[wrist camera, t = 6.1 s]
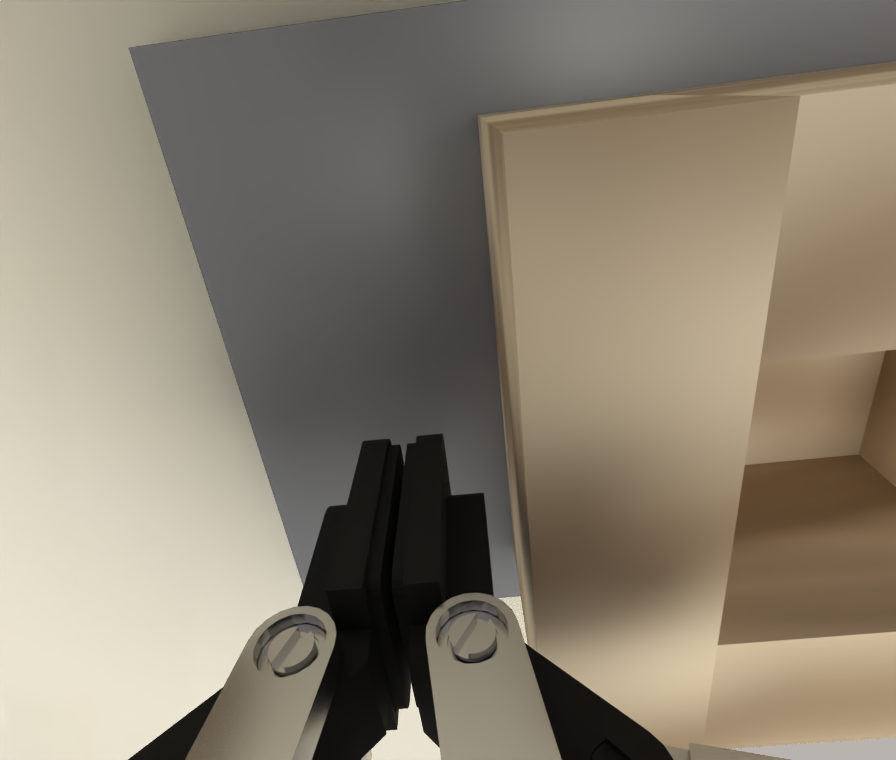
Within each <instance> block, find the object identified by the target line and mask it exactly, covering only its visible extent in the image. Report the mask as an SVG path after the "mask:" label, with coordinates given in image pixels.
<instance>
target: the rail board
mask: <svg viewBox="0 0 896 760" xmlns="http://www.w3.org/2000/svg"><path fill="white" fill-rule="evenodd" d="M129 50H130V53H131V57H132V60H133V63H134V66H135V69H136V72H137V75H138V78H139V81H140V84H141V87H142V90H143V94H144V97H145V100H146V103H147V106H148V109H149V112H150V115H151V118H152V121H153V124H154V127H155V131H156V134H157V137H158V140H159V143H160V146H161V149H162V152H163V155H164V158H165V161H166V164H167V168H168V171H169V174H170V177H171V180H172V183H173V186H174V189H175V192H176V195H177V198H178V201H179V204H180V208H181V211H182V214H183V217H184V220H185V223H186V226H187V229H188V232H189V235H190V238H191V241H192V245H193V248H194V251H195V254H196V257H197V260H198V263H199V266H200V269H201V272H202V275H203V278H204V282H205V285H206V288H207V291H208V294H209V297H210V300H211V303H212V306H213V309H214V312H215V315H216V319H217V322H218V325H219V328H220V331H221V334H222V337H223V340H224V343H225V346H226V349H227V352H228V356H229V359H230V362H231V365H232V368H233V371H234V374H235V377H236V380H237V383H238V386H239V389H240V392H241V396H242V399H243V402H244V405H245V408H246V411H247V414H248V417H249V420H250V423H251V426H252V429H253V433H254V436H255V439H256V442H257V445H258V448H259V451H260V454H261V457H262V460H263V463H264V466H265V470H266V473H267V476H268V479H269V482H270V485H271V488H272V491H273V494H274V497H275V500H276V503H277V507H278V510H279V513H280V516H281V519H282V522H283V525H284V528H285V531H286V534H287V537H288V540H289V544H290V547H291V550H292V553H293V556H294V559H295V562H296V565H297V568H298V571H299V574H300V577H301V580H302V584H303V586H304V583H305V580H306V576H307V573H308V569H309V566H310V563H311V559H312V556H313V552H314V549H315V546H316V542H317V539H318V535H319V532H320V529H321V525H322V522H323V518H324V515H325V512H326V510H327V508H328V507H329V506H336V505H347V502H348V498H349V494H350V490H351V486H352V482H353V478H354V474H355V470H356V466H357V462H358V458H359V454H360V449H361V445H362V442H363V441H367V440H378V439H388V438H389V439H390V441H391V444H392V445H398V444H400V446H401V449H402V455H403V460H404V465H405V456H406V448H407V444H408V443H416V437H417V436H421V435H431V434H443V437H444V444H445V451H446V459H447V466H448V473H449V481H450V488H451V495H462V494H473V493H484V498H485V508H486V518H487V528H488V538H489V548H490V559H491V570H492V581H493V592H494V597H496V598H504V597H516V596H521V594H520V587H519V580H518V573H517V566H516V559H515V553H514V542H513V530H512V518H511V506H510V495H509V483H508V471H507V459H506V447H505V435H504V423H503V412H502V400H501V388H500V376H499V364H498V352H497V340H496V329H495V317H494V305H493V293H492V281H491V269H490V257H489V246H488V234H487V222H486V210H485V198H484V186H483V174H482V163H481V151H480V139H479V127H478V115H484V114H492V113H500V112H507V111H515V110H523V109H531V108H538V107H546V106H554V105H562V104H569V103H577V102H585V101H593V100H600V99H608V98H616V97H624V96H631V95H639V94H647V93H655V92H662V91H670V90H678V89H685V88H693V87H701V86H709V85H716V84H724V83H732V82H740V81H747V80H755V79H763V78H771V77H778V76H786V75H794V74H802V73H809V72H817V71H825V70H833V69H840V68H848V67H856V66H863V65H871V64H879V63H887V62H894V61H896V0H464V1H457V2H450V3H443V4H436V5H429V6H422V7H415V8H407V9H400V10H393V11H386V12H379V13H372V14H365V15H358V16H350V17H343V18H336V19H329V20H322V21H315V22H308V23H301V24H293V25H286V26H279V27H272V28H265V29H258V30H251V31H244V32H236V33H229V34H222V35H215V36H208V37H201V38H194V39H187V40H179V41H172V42H165V43H158V44H151V45H144V46H137V47H130V48H129Z"/></svg>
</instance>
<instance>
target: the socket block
mask: <svg viewBox="0 0 896 760" xmlns="http://www.w3.org/2000/svg"><path fill="white" fill-rule="evenodd" d="M478 127H479V139H480V151H481V163H482V174H483V186H484V198H485V210H486V222H487V234H488V246H489V257H490V269H491V281H492V293H493V305H494V317H495V329H496V340H497V352H498V364H499V376H500V388H501V400H502V412H503V423H504V435H505V447H506V459H507V471H508V483H509V495H510V506H511V518H512V530H513V542H514V553H515V559H516V566H517V573H518V580H519V587H520V594H521V601H522V608H523V615H524V622H525V629H526V635H527V642H528V646H530V647H531V648H533V649H534V650H535V651H537V652H538V653H540V654H541V655H542V656H544V657H545V658H547V659H548V660H549V661H551V662H552V663H554V664H555V665H556V666H558V667H559V668H561V669H562V670H563V671H565V672H566V673H568V674H569V675H571V676H572V677H573V678H575V679H576V680H578V681H579V682H580V683H582V684H583V685H585V686H586V687H587V688H589V689H590V690H592V691H593V692H594V693H596V694H597V695H599V696H600V697H601V698H603V699H604V700H606V701H607V702H608V703H610V704H611V705H613V706H614V707H615V708H617V709H618V710H620V711H621V712H622V713H624V714H625V715H627V716H628V717H629V718H631V719H632V720H634V721H635V722H636V723H638V724H639V725H641V726H642V727H644V728H645V729H646V730H648V731H649V732H650V733H651V734H652V735H654V736H655V737H656V738H657V739H658V740H659V741H660V742H661V743H662V744H663V745H665V746H671V747H677V748H682V749H688V746H689V742H690V743H696V744H702V745H708V746H713V747H719V748H725V749H731V748H746V747H760V746H776V745H791V744H806V743H820V742H834V741H849V740H865V739H880V738H894V737H896V61H894V62H887V63H879V64H871V65H863V66H856V67H848V68H840V69H833V70H825V71H817V72H809V73H802V74H794V75H786V76H778V77H771V78H763V79H755V80H747V81H740V82H732V83H724V84H716V85H709V86H701V87H693V88H685V89H678V90H670V91H662V92H655V93H647V94H639V95H631V96H624V97H616V98H608V99H600V100H593V101H585V102H577V103H569V104H562V105H554V106H546V107H538V108H531V109H523V110H515V111H507V112H500V113H492V114H484V115H478Z"/></svg>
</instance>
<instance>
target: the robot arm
mask: <svg viewBox="0 0 896 760" xmlns="http://www.w3.org/2000/svg"><path fill="white" fill-rule="evenodd" d="M411 683H412V688H413V692H414V697H415V701H416V705H417V707H418V708H419V712H420V717H421V721H422V726H423V730H424V733H425V734H426V735H427V736H428V737H429V738H430V739H431V740H432V741H433V742H434V743H435V744H436V745H437V746H438V747H439V748H440V754H441V760H789V759H783V758H777V757H771V756H765V755H760V754H754V753H748V752H742V751H736V750H731V749H725V748H719V747H713V746H708V745H702V744H696V743H690V742H689V746H688V749H682V748H677V747H671V746H665V745H663V744H662V743H661V742H660V741H659V740H658V739H657V738H656V737H655V736H654V735H652V734H651V733H650V732H649V731H648V730H646V729H645V728H644V727H642V726H641V725H639V724H638V723H636V722H635V721H634V720H632V719H631V718H629V717H628V716H627V715H625V714H624V713H622V712H621V711H620V710H618V709H617V708H615V707H614V706H613V705H611V704H610V703H608V702H607V701H606V700H604V699H603V698H601V697H600V696H599V695H597V694H596V693H594V692H593V691H592V690H590V689H589V688H587V687H586V686H585V685H583V684H582V683H580V682H579V681H578V680H576V679H575V678H573V677H572V676H571V675H569V674H568V673H566V672H565V671H563V670H562V669H561V668H559V667H558V666H556V665H555V664H554V663H552V662H551V661H549V660H548V659H547V658H545V657H544V656H542V655H541V654H540V653H538V652H537V651H535V650H534V649H533V648H531V647H530V646H528V645H527V644H526V643H525V642H524V639H523V636H522V633H521V629H520V626H519V623H518V620H517V618H516V616H515V614H514V613H513V611H512V609H511V608H510V607H509V606H508V605H507V604H505V603H504V602H503V601H502V600H500V599H498V598H496V597H494V592H493V581H492V570H491V559H490V548H489V538H488V528H487V518H486V508H485V498H484V493H473V494H462V495H451V488H450V481H449V473H448V466H447V459H446V451H445V444H444V437H443V434H431V435H421V436H417V437H416V443H408V444H407V448H406V456H405V465H404V460H403V455H402V449H401V446H400V444H398V445H392V444H391V441H390V439H389V438H388V439H378V440H367V441H363V442H362V445H361V449H360V454H359V458H358V462H357V466H356V470H355V474H354V478H353V482H352V486H351V490H350V494H349V498H348V502H347V505H336V506H329V507H328V508H327V510H326V512H325V515H324V518H323V522H322V525H321V529H320V532H319V535H318V539H317V542H316V546H315V549H314V552H313V556H312V559H311V563H310V566H309V569H308V573H307V576H306V580H305V583H304V586H303V590H302V593H301V597H300V600H299V603H298V607H293V608H290V609H287V610H284V611H281V612H279V613H277V614H275V615H274V616H272V617H270V618H268V619H267V620H266V621H265V622H264V623H262V624H261V625H260V626H259V627H258V628H257V629H256V630H255V631H254V633H253V634H252V636H251V637H250V639H249V640H248V642H247V643H246V645H245V647H244V649H243V651H242V653H241V655H240V657H239V659H238V660H237V662H236V664H235V666H234V668H233V670H232V672H231V674H230V676H229V677H228V679H227V681H226V683H225V685H224V687H223V688H222V689H220V690H219V691H218V692H216V693H215V694H214V695H212V696H211V697H210V698H208V699H207V700H206V701H205V702H203V703H202V704H201V705H199V706H198V707H197V708H195V709H194V710H193V711H191V712H190V713H189V714H187V715H186V716H185V717H183V718H182V719H181V720H180V721H178V722H177V723H176V724H174V725H173V726H172V727H170V728H169V729H168V730H166V731H165V732H164V733H162V734H161V735H160V736H159V737H157V738H156V739H155V740H153V741H152V742H151V743H149V744H148V745H147V746H145V747H144V748H143V749H141V750H140V751H139V752H138V753H136V754H135V755H134V756H132V757H131V758H130V759H128V760H371V758H372V752H371V749H372V748H373V747H374V746H375V745H376V744H377V743H378V742H379V741H380V740H381V739H382V738H383V737H384V736H385V735H386V730H397V725H398V712H399V709H404V708H408V707H409V702H410V689H411Z"/></svg>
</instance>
